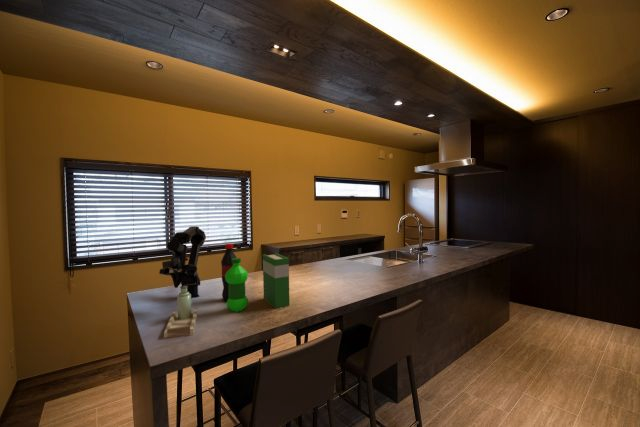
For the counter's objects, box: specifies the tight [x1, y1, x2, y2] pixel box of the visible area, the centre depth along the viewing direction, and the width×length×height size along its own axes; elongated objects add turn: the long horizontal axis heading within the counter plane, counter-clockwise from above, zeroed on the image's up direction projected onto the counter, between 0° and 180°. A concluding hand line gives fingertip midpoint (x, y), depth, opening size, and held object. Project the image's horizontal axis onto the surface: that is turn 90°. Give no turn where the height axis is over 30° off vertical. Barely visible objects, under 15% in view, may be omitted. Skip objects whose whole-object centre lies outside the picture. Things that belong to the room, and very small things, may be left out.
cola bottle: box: [220, 243, 237, 302], centre depth 156 cm, size 8×8×30 cm
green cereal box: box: [262, 252, 290, 309], centre depth 152 cm, size 18×7×24 cm, turn 30°
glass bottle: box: [176, 285, 193, 320], centre depth 132 cm, size 6×6×14 cm
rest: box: [163, 308, 199, 339], centre depth 125 cm, size 24×10×4 cm, turn 19°
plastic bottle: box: [225, 257, 249, 313], centre depth 141 cm, size 10×10×25 cm
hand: (175, 287), depth 141 cm, fingers closed
